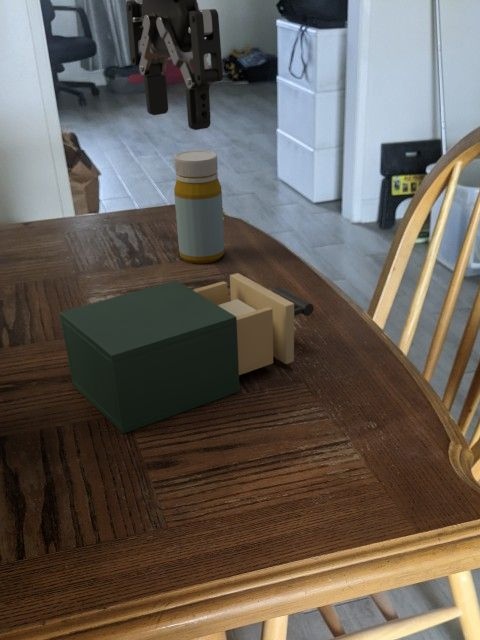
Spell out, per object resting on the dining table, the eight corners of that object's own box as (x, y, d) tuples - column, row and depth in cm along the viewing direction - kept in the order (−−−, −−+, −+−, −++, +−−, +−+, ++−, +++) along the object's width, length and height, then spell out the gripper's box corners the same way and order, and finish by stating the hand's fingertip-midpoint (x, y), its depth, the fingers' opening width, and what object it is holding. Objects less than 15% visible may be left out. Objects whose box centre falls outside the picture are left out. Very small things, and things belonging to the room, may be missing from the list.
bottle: (209, 245, 126) (204, 146, 117) (233, 258, 121) (228, 156, 112) (171, 254, 122) (162, 154, 114) (194, 268, 118) (186, 164, 109)
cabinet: (182, 350, 96) (176, 279, 91) (239, 391, 88) (236, 316, 82) (72, 386, 89) (59, 312, 84) (123, 434, 81) (111, 355, 76)
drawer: (270, 318, 101) (269, 263, 97) (325, 350, 94) (327, 293, 89) (145, 358, 93) (138, 300, 88) (195, 397, 85) (190, 336, 81)
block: (228, 359, 90) (226, 322, 87) (207, 344, 93) (204, 308, 90) (260, 348, 92) (260, 311, 89) (239, 334, 95) (237, 298, 92)
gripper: (92, -69, 75) (114, 114, 84) (166, -67, 65) (182, 139, 75) (161, -72, 78) (175, 105, 88) (240, -70, 69) (246, 128, 78)
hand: (178, 121), depth 81 cm, fingers open, 8 cm apart
